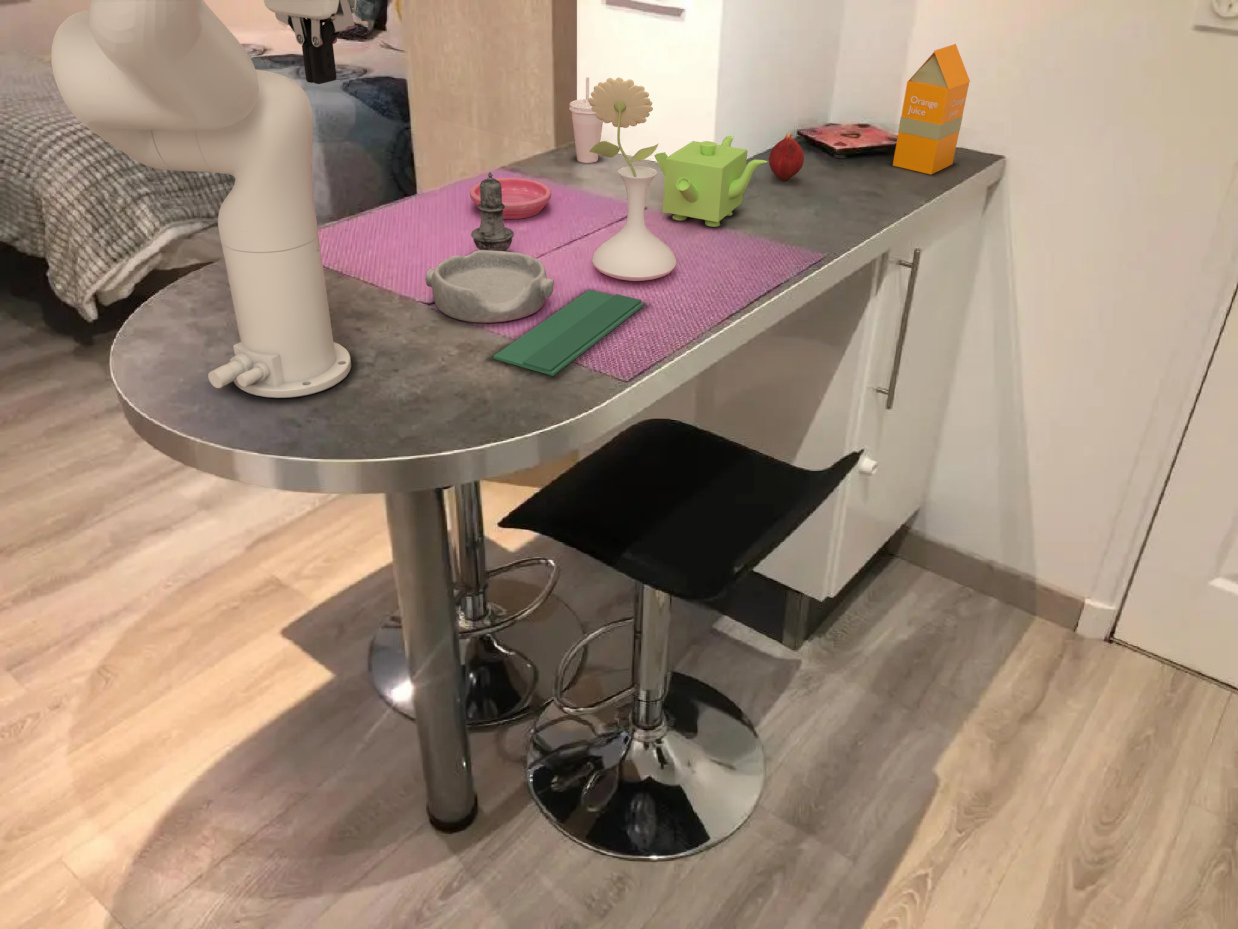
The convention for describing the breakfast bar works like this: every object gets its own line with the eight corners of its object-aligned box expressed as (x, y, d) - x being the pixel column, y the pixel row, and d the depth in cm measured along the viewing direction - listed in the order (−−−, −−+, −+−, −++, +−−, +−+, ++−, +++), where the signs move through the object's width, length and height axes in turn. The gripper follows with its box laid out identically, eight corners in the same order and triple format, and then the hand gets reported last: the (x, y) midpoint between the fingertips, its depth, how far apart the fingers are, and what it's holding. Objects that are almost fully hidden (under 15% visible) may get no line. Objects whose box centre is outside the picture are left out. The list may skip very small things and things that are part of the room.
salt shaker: (507, 268, 138) (504, 180, 132) (466, 263, 139) (461, 176, 132) (519, 252, 143) (517, 167, 136) (479, 248, 144) (475, 163, 137)
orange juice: (891, 165, 183) (912, 47, 172) (914, 155, 189) (935, 40, 178) (932, 174, 179) (955, 54, 168) (953, 164, 184) (978, 46, 173)
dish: (567, 309, 128) (567, 272, 125) (473, 338, 120) (471, 299, 117) (502, 273, 137) (501, 237, 134) (411, 298, 129) (408, 260, 126)
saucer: (561, 200, 162) (561, 181, 160) (536, 227, 152) (536, 206, 150) (487, 192, 164) (486, 173, 162) (458, 218, 154) (457, 197, 152)
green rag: (553, 376, 113) (553, 370, 112) (493, 358, 116) (493, 353, 116) (643, 305, 129) (644, 300, 129) (589, 292, 132) (589, 287, 132)
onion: (803, 186, 171) (809, 138, 167) (768, 185, 171) (774, 137, 167) (798, 176, 176) (804, 129, 172) (765, 175, 176) (770, 128, 171)
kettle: (726, 196, 166) (732, 126, 160) (767, 226, 155) (776, 152, 149) (641, 205, 161) (644, 133, 155) (677, 236, 150) (682, 160, 144)
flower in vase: (689, 266, 140) (702, 77, 127) (652, 295, 132) (662, 96, 118) (606, 248, 145) (610, 64, 132) (565, 274, 137) (565, 81, 123)
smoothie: (566, 163, 178) (565, 80, 171) (573, 153, 184) (573, 71, 176) (601, 166, 178) (603, 82, 170) (608, 155, 183) (610, 74, 175)
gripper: (221, -106, 107) (249, 78, 117) (327, -97, 101) (348, 96, 110) (274, -108, 112) (298, 67, 122) (378, -100, 106) (394, 84, 116)
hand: (321, 80), depth 116 cm, fingers closed
